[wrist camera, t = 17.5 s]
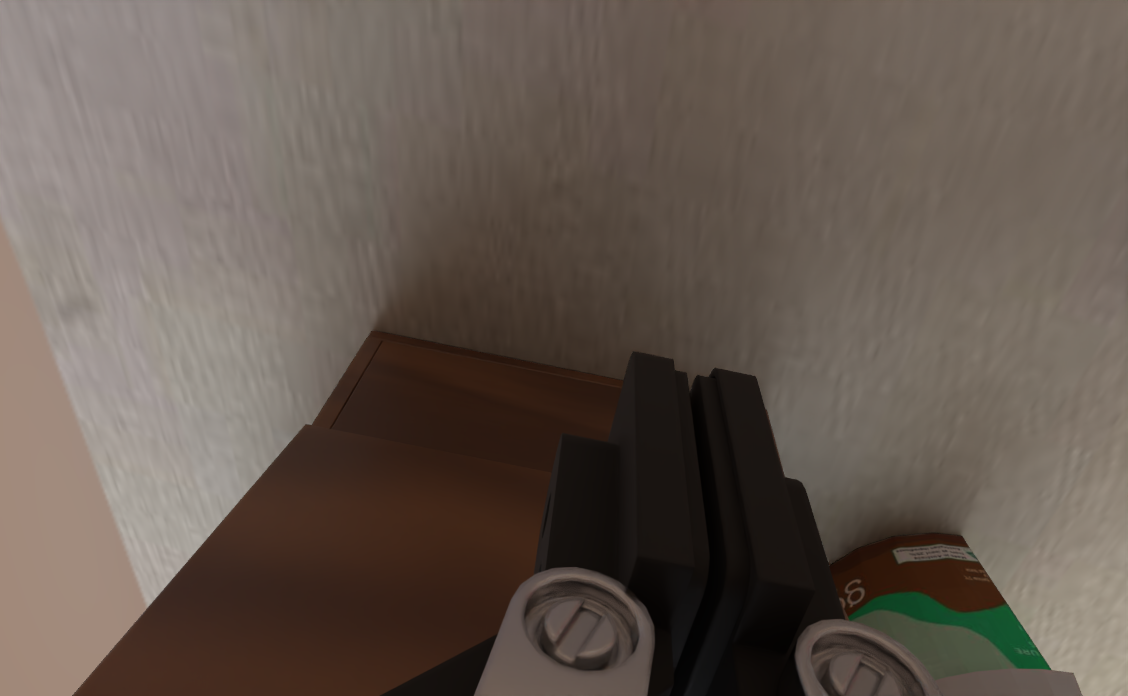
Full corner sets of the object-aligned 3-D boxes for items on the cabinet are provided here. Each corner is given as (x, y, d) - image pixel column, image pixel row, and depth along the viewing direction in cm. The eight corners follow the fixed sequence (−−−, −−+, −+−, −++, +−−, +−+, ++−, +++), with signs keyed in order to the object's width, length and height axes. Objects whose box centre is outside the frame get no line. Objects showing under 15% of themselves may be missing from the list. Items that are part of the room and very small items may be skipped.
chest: (665, 685, 38) (671, 823, 32) (347, 624, 38) (295, 752, 32) (767, 408, 31) (798, 523, 25) (371, 329, 30) (309, 427, 25)
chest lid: (1145, 1367, 9) (1177, 1327, 9) (-245, 1121, 9) (-254, 1072, 8) (797, 544, 25) (804, 522, 24) (303, 447, 24) (305, 423, 24)
